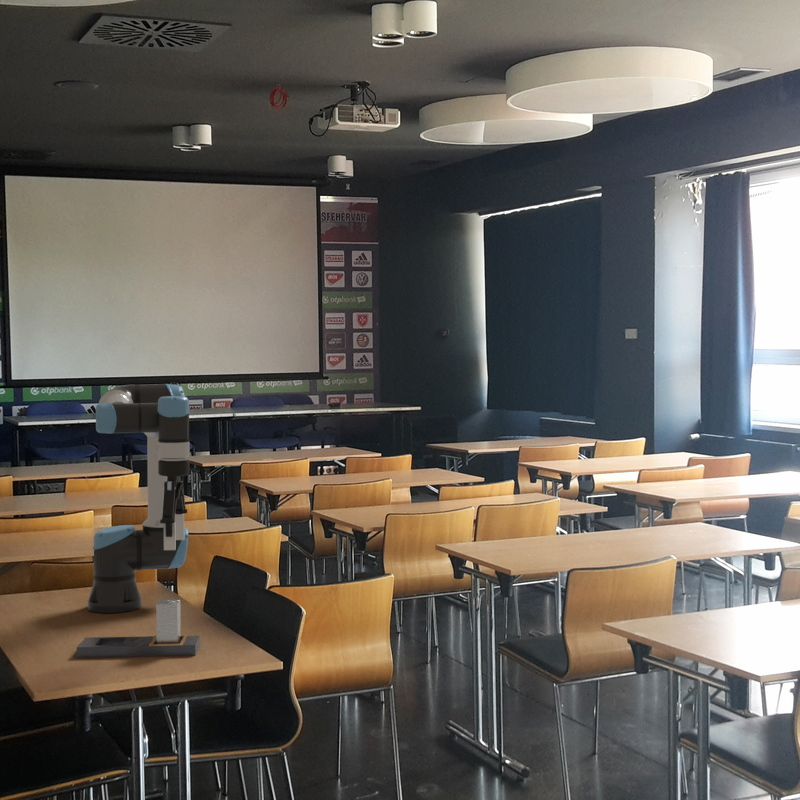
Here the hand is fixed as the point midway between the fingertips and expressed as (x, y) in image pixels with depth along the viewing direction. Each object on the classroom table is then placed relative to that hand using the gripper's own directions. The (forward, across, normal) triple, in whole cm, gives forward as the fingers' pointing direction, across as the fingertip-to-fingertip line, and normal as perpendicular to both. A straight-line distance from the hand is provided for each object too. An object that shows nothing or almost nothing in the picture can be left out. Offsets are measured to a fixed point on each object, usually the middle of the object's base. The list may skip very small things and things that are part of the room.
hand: (174, 544), depth 255 cm
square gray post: (+25, +4, -1) cm, 26 cm away
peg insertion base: (+25, +4, -8) cm, 27 cm away
